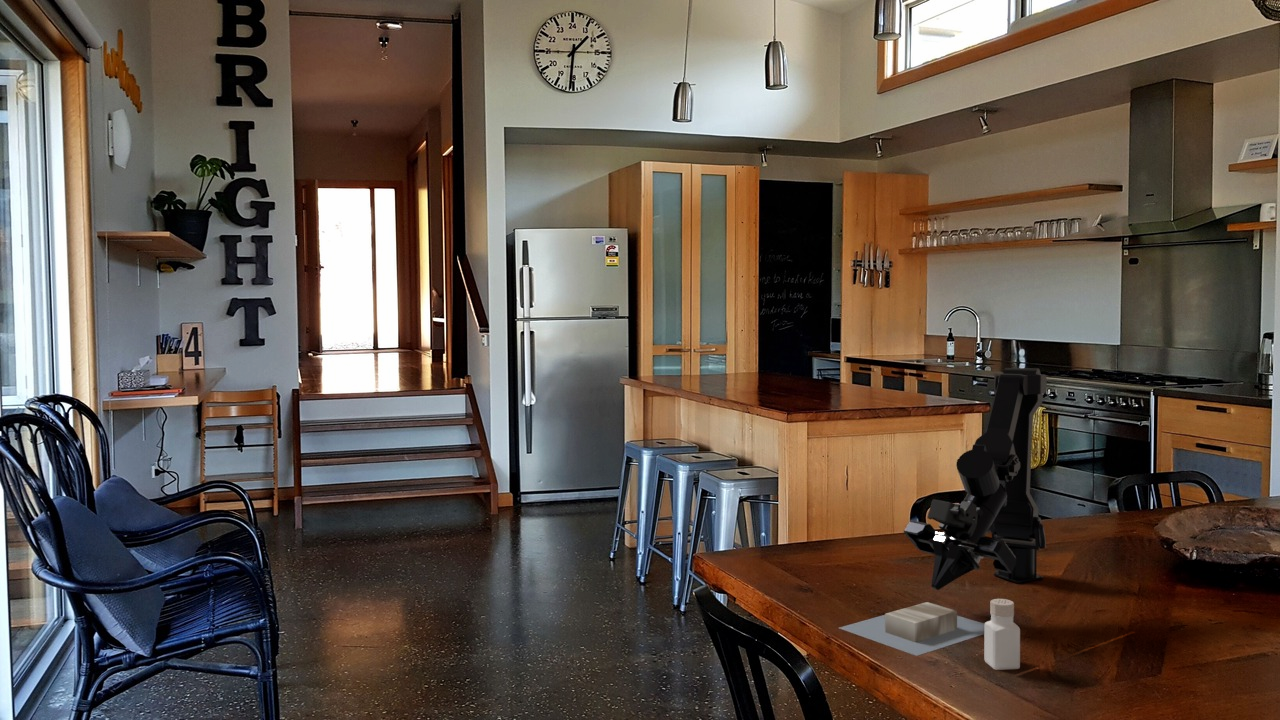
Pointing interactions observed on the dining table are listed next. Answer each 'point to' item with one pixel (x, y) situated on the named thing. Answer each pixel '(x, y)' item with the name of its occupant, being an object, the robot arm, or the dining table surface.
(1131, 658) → the dining table surface
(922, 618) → the beige streaked block
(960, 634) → the mat
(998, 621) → the pepper shaker
